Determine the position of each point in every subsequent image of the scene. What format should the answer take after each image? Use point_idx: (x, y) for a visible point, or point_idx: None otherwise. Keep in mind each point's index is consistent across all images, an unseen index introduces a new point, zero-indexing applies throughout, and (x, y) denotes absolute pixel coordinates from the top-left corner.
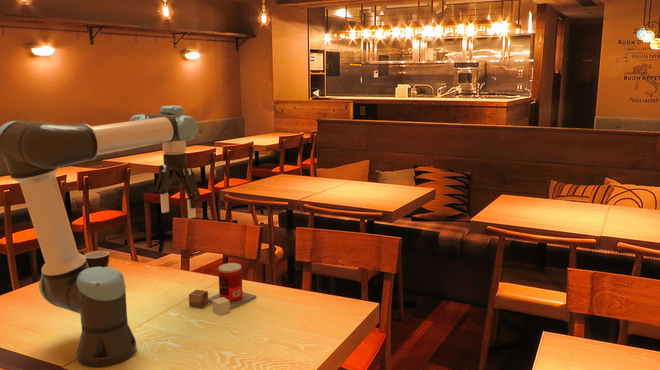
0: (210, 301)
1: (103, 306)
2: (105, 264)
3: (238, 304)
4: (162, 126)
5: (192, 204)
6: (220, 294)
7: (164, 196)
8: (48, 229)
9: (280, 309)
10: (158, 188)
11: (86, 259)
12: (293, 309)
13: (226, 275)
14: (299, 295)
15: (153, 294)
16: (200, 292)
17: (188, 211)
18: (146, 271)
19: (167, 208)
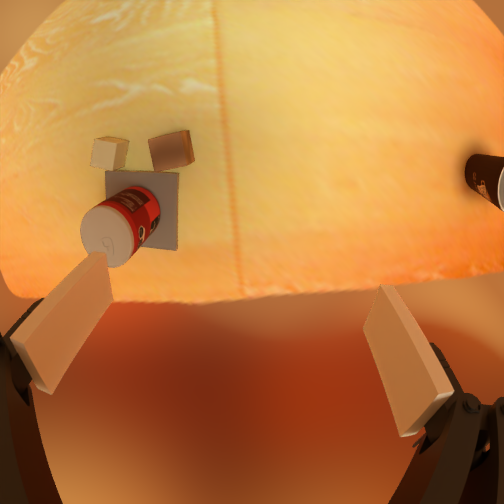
0: (163, 172)
1: None
2: (485, 180)
3: (106, 192)
4: None
5: (24, 316)
6: (140, 190)
7: (414, 394)
8: None
9: (54, 220)
10: (490, 430)
11: None
12: (44, 231)
13: (96, 205)
14: None
15: (324, 145)
16: (163, 156)
17: (73, 277)
18: (426, 251)
19: (373, 333)
